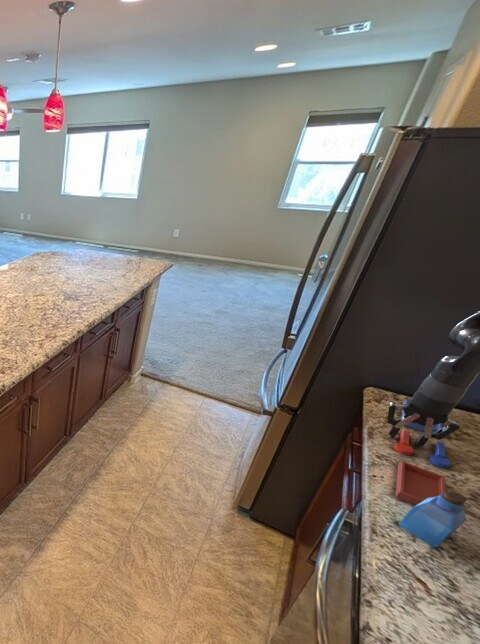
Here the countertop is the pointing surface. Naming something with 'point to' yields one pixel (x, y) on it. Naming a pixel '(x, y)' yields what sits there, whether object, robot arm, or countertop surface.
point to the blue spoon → (440, 456)
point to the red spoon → (404, 444)
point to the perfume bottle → (436, 517)
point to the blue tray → (418, 426)
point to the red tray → (417, 483)
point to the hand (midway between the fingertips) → (404, 440)
